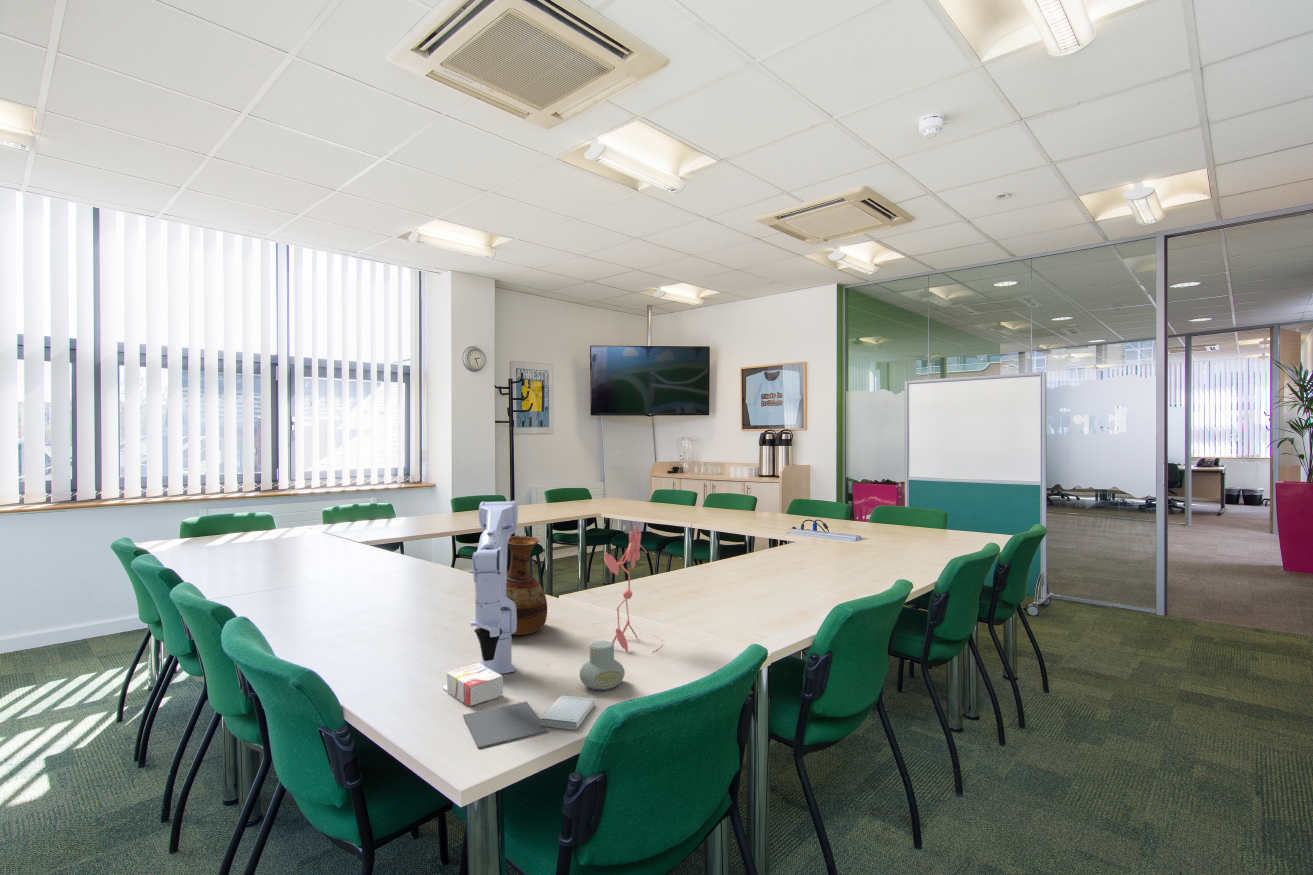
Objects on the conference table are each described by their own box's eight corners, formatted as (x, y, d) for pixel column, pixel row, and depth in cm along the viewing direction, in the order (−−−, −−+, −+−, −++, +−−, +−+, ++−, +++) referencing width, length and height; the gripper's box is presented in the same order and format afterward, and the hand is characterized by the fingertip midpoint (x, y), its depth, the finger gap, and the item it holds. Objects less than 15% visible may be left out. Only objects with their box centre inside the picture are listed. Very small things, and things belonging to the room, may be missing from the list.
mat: (463, 716, 131) (463, 714, 131) (526, 702, 138) (526, 701, 138) (478, 748, 117) (478, 746, 117) (548, 732, 124) (548, 730, 124)
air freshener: (585, 695, 142) (585, 652, 142) (575, 683, 149) (575, 642, 149) (629, 687, 146) (628, 646, 146) (617, 676, 154) (617, 636, 154)
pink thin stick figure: (596, 658, 166) (597, 530, 166) (624, 630, 191) (626, 519, 191) (650, 664, 162) (652, 533, 162) (672, 635, 187) (673, 521, 187)
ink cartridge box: (469, 685, 136) (440, 668, 147) (469, 707, 136) (440, 689, 147) (503, 674, 142) (472, 659, 153) (503, 695, 142) (473, 678, 153)
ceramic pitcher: (502, 645, 178) (501, 543, 179) (472, 630, 193) (472, 536, 194) (559, 631, 191) (558, 536, 191) (527, 618, 206) (526, 529, 207)
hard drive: (577, 722, 124) (594, 697, 136) (539, 717, 126) (560, 694, 138) (576, 730, 124) (594, 705, 136) (539, 725, 126) (560, 701, 138)
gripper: (464, 596, 146) (464, 653, 145) (476, 610, 133) (477, 672, 133) (494, 592, 149) (494, 648, 149) (508, 606, 136) (509, 667, 136)
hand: (488, 659), depth 141 cm, fingers closed
